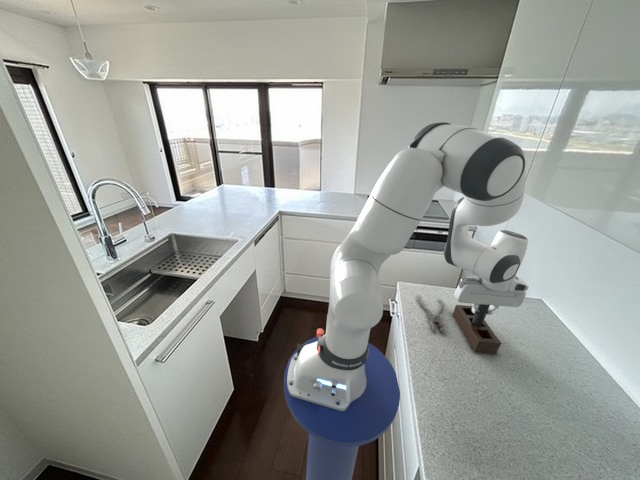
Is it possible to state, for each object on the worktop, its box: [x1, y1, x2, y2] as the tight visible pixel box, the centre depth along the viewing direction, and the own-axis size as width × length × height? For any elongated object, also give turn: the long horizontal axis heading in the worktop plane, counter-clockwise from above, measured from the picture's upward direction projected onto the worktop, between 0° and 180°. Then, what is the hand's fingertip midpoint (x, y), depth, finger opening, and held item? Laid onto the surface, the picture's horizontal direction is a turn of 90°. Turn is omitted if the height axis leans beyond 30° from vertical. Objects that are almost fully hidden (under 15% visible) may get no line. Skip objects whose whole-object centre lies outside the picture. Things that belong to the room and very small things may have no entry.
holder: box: [452, 304, 502, 355], centre depth 90 cm, size 7×18×5 cm, turn 176°
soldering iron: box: [472, 304, 490, 327], centre depth 86 cm, size 3×3×15 cm
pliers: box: [417, 295, 444, 334], centre depth 99 cm, size 10×1×20 cm
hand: (481, 312), depth 87 cm, fingers closed on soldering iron, 3 cm apart
